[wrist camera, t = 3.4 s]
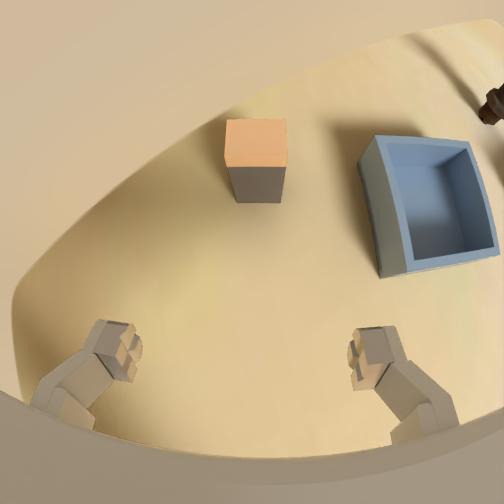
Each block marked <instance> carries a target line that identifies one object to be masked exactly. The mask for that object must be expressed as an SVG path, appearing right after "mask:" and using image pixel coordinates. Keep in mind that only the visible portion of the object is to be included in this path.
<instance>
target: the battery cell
mask: <svg viewBox="0 0 504 504" xmlns="http://www.w3.org/2000/svg"><path fill="white" fill-rule="evenodd" d="M224 158H225V161H226V165H227V168H228V172H229V175H230V179H231V183H232V186H233V190H234V193H235V197H236V201H237V203H281V197H282V190H283V183H284V177H285V170H286V163H287V134H286V119H229V120H227V125H226V138H225V153H224Z"/></svg>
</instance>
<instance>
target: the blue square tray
mask: <svg viewBox="0 0 504 504" xmlns="http://www.w3.org/2000/svg"><path fill="white" fill-rule="evenodd" d="M357 165H358V169H359V172H360V176H361V181H362V185H363V189H364V193H365V198H366V202H367V207H368V211H369V216H370V221H371V226H372V232H373V237H374V243H375V249H376V255H377V261H378V268H379V275H380V279H382V278H388V277H394V276H400V275H406V274H412V273H418V272H423V271H429V270H434V269H440V268H445V267H450V266H455V265H460V264H465V263H470V262H474V261H478V260H482V259H486V258H490V257H493V256H497V255H500V249H499V244H498V238H497V233H496V229H495V224H494V220H493V216H492V211H491V208H490V204H489V200H488V196H487V193H486V190H485V186H484V183H483V180H482V177H481V174H480V171H479V168H478V165H477V162H476V159H475V157H474V154H473V151H472V149H471V146H470V144H469V142H466V141H458V140H449V139H439V138H427V137H412V136H391V135H375V136H374V137H373V139H372V141H371V142H370V144H369V146H368V147H367V149H366V150H365V152H364V154H363V155H362V157H361V159H360V160H359V162H358V163H357Z"/></svg>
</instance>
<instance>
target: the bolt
mask: <svg viewBox="0 0 504 504" xmlns="http://www.w3.org/2000/svg"><path fill="white" fill-rule="evenodd" d="M486 98H487V102H486V103H485V104H484V105H483V106H482V107H481V108H480V110H479V116H480V118H484V119H483V122H484V124H490V125H495V124H496V123H497V122H498V121H499V120H500V119H504V84H503V85H502V86H501V87H500V88H499V89H496V88H493V89H492V90H490V91H489V92H488V93H487V94H486Z"/></svg>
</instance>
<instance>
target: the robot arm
mask: <svg viewBox="0 0 504 504" xmlns="http://www.w3.org/2000/svg"><path fill="white" fill-rule="evenodd" d="M135 332H136V328H135V327H134V325H133V324H128V323H121V322H114V321H108V320H100V319H99V320H98V321H96V323H95V325H94V327H93V328H92V330H91V333H90V335H89V337H88V339H87V341H86V343H85V345H84V347H83V349H82V351H80V350H79V351H77V352H76V353H75V354H73V355H72V356H71V357H69V358H68V359H67V360H65V361H64V362H63V363H61V364H60V365H59V366H57V367H56V368H55V369H54V370H52V371H51V372H50V373H48V374H47V375H46V376H44V377H43V378H42V379H40V382H39V384H38V386H37V388H36V391H35V393H34V395H33V398H32V400H31V402H30V405H28V404H26V403H24V402H22V401H20V400H18V399H16V398H14V397H12V396H10V395H8V394H6V393H5V392H3V391H1V390H0V504H504V407H502V408H500V409H497V410H495V411H493V412H491V413H489V414H486V415H484V416H482V417H479V418H477V419H474V420H472V421H469V422H467V423H464V424H461V425H459V421H458V418H457V414H456V411H455V407H454V404H453V401H452V398H451V395H449V394H448V393H447V392H446V391H445V390H444V389H443V388H442V387H440V386H439V385H438V384H437V383H436V382H435V381H434V380H433V379H431V378H430V377H429V376H428V375H427V374H426V373H425V372H424V371H422V370H421V369H420V368H419V367H418V366H417V365H416V364H414V363H413V362H412V361H411V360H410V361H407V358H406V355H405V352H404V349H403V346H402V343H401V341H400V338H399V335H398V332H397V330H396V328H395V327H394V326H384V327H368V328H356V329H355V330H354V333H353V338H354V340H352V341H351V342H350V344H349V347H348V354H347V355H348V364H349V366H350V367H351V368H352V369H353V372H352V374H351V380H352V385H353V391H357V390H368V389H374V390H375V392H376V393H377V394H378V395H379V396H380V398H381V399H382V400H383V401H384V402H385V403H386V405H387V406H388V407H389V408H390V409H391V411H392V412H393V413H394V414H395V415H396V417H397V418H398V419H399V420H400V421H401V423H399V424H398V425H397V426H396V427H395V428H394V429H393V430H392V431H391V433H390V434H391V440H392V445H389V446H384V447H379V448H373V449H368V450H362V451H355V452H348V453H341V454H332V455H322V456H309V457H288V458H252V457H231V456H218V455H208V454H199V453H191V452H184V451H178V450H171V449H166V448H160V447H155V446H150V445H146V444H141V443H137V442H133V441H128V440H125V439H121V438H117V437H113V436H110V435H106V434H103V433H100V432H97V431H93V430H92V429H93V426H94V422H95V418H94V416H93V415H92V414H91V413H90V412H88V411H87V409H88V408H89V406H90V405H91V404H92V403H93V402H94V401H95V400H96V399H97V398H98V397H99V396H100V395H101V394H102V393H103V392H104V391H105V390H106V389H107V388H108V387H109V386H110V385H111V384H112V383H113V382H114V380H119V381H125V382H131V383H133V380H134V377H135V374H136V371H137V367H136V365H135V363H137V362H138V361H139V360H140V359H141V355H142V347H143V346H142V341H141V339H140V337H139V336H138V335H136V334H135Z"/></svg>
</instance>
